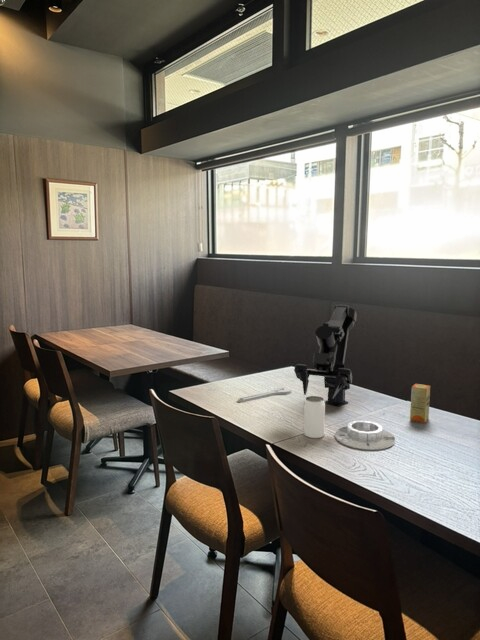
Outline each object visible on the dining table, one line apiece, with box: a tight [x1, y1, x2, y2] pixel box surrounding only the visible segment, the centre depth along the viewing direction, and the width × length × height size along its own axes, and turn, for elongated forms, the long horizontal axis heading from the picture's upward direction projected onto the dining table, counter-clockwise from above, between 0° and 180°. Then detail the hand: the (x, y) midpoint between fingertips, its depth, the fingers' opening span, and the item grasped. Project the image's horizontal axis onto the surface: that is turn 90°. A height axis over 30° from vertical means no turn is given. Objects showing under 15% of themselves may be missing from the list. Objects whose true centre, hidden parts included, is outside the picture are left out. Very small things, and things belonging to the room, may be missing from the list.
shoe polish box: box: [409, 383, 431, 424], centre depth 163 cm, size 5×5×12 cm
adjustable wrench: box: [237, 387, 292, 403], centre depth 191 cm, size 25×6×2 cm, turn 119°
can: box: [303, 395, 326, 439], centre depth 150 cm, size 6×6×12 cm
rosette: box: [334, 420, 396, 451], centre depth 148 cm, size 18×18×4 cm
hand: (318, 396), depth 154 cm, fingers open, 9 cm apart
